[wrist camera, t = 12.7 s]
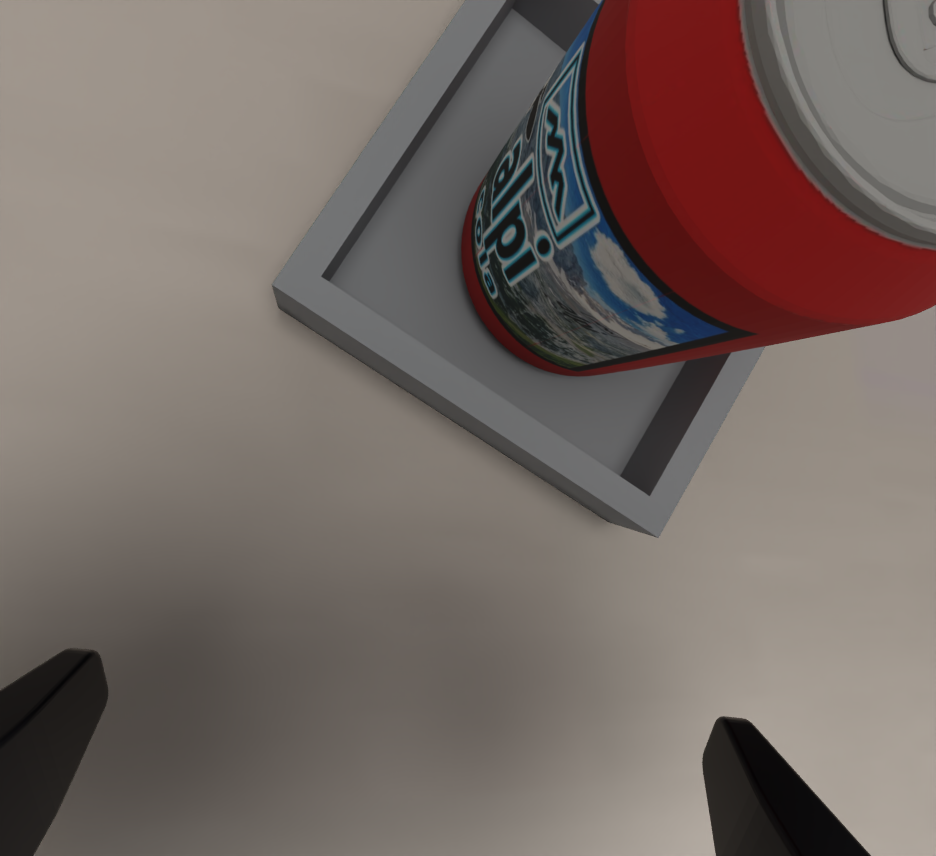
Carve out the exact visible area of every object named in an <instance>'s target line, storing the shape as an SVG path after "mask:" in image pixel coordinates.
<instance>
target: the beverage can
mask: <svg viewBox="0 0 936 856" xmlns="http://www.w3.org/2000/svg"><path fill="white" fill-rule="evenodd" d="M461 255H462V266H463V273H464V278H465V282H466V285H467V289H468V292H469V295H470V297H471V300H472V302H473V304H474V306H475V309H476V311H477V312H478V314H479V316H480V318H481V319H482V321H483V322H484V324H485V325H486V327H487V328H488V329H489V331H490V332H491V333H492V334H493V335H494V337H495V338H496V339H497V340H498V341H499V342H500V343H501V344H502V345H503V346H504V347H506V348H507V349H508V350H509V351H510V352H512V353H513V354H514V355H516V356H517V357H519V358H520V359H522V360H523V361H525V362H527V363H529V364H531V365H533V366H535V367H537V368H539V369H542V370H545V371H548V372H551V373H555V374H560V375H565V376H576V377H581V376H595V375H602V374H608V373H615V372H622V371H628V370H635V369H640V368H646V367H652V366H658V365H664V364H670V363H676V362H682V361H687V360H693V359H698V358H704V357H709V356H715V355H720V354H726V353H731V352H737V351H742V350H748V349H753V348H759V347H764V346H769V345H774V344H779V343H784V342H789V341H794V340H799V339H804V338H809V337H815V336H820V335H825V334H830V333H835V332H840V331H845V330H850V329H855V328H860V327H865V326H870V325H875V324H881V323H885V322H890V321H895V320H900V319H903V318H906V317H909V316H912V315H915V314H917V313H920V312H922V311H924V310H926V309H929V308H931V307H933V306H934V305H936V0H602V1H601V2H600V4H599V5H598V7H597V8H596V9H595V11H594V12H593V14H592V15H591V17H590V18H589V20H588V21H587V23H586V24H585V26H584V27H583V29H582V30H581V32H580V33H579V35H578V36H577V38H576V39H575V40H574V42H573V43H572V45H571V46H570V48H569V49H568V51H567V52H566V54H565V55H564V57H563V58H562V60H561V61H560V63H559V64H558V66H557V67H556V69H555V70H554V72H553V73H552V75H551V76H550V78H549V79H548V81H547V82H546V84H545V85H544V86H543V88H542V89H541V91H540V92H539V94H538V95H537V97H536V98H535V100H534V101H533V103H532V104H531V106H530V107H529V109H528V111H527V112H526V114H525V115H524V117H523V118H522V120H521V121H520V123H519V124H518V126H517V127H516V129H515V130H514V132H513V133H512V135H511V136H510V138H509V139H508V141H507V142H506V144H505V145H504V147H503V149H502V150H501V152H500V153H499V155H498V156H497V158H496V160H495V161H494V163H493V164H492V166H491V167H490V169H489V171H488V172H487V174H486V175H485V177H484V179H483V180H482V182H481V183H480V185H479V186H478V188H477V190H476V192H475V194H474V196H473V198H472V200H471V202H470V205H469V207H468V211H467V214H466V217H465V221H464V226H463V232H462V244H461Z"/></svg>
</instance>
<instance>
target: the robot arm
mask: <svg viewBox="0 0 936 856" xmlns="http://www.w3.org/2000/svg"><path fill="white" fill-rule="evenodd" d="M107 699H108V686H107V681H106V677H105V673H104V669H103V664H102V660H101V657H100V654H99V653H98V652H97V651H94V650H87V649H78V648H70V649H66V650H64V651H62V652H60V653H59V654H57V655H55V656H54V657H52V658H51V659H49V660H48V661H46V662H44V663H43V664H41V665H40V666H38V667H36V668H35V669H33V670H32V671H30V672H29V673H27V674H25V675H24V676H22V677H21V678H19V679H18V680H16V681H14V682H13V683H11V684H10V685H8V686H6V687H5V688H3V689H2V690H0V856H33V855H34V853H35V852H36V850H37V848H38V846H39V845H40V843H41V841H42V839H43V838H44V836H45V834H46V832H47V830H48V829H49V827H50V825H51V823H52V821H53V819H54V818H55V816H56V814H57V812H58V810H59V808H60V806H61V804H62V801H63V799H64V797H65V795H66V793H67V791H68V789H69V786H70V784H71V782H72V780H73V777H74V775H75V773H76V771H77V769H78V766H79V764H80V762H81V760H82V757H83V755H84V753H85V751H86V749H87V746H88V744H89V742H90V740H91V737H92V735H93V733H94V731H95V729H96V726H97V724H98V722H99V720H100V717H101V715H102V713H103V711H104V708H105V706H106V703H107ZM702 765H703V775H704V781H705V788H706V794H707V801H708V807H709V814H710V820H711V827H712V833H713V840H714V846H715V853H716V856H871V855H870V854H869V853H868V852H867V851H866V850H865V849H864V847H863V846H862V845H861V844H860V843H859V842H858V841H857V840H856V839H855V837H854V836H853V835H852V834H851V833H850V832H849V831H848V830H847V829H846V827H845V826H844V825H843V824H842V823H841V822H840V821H839V820H838V818H837V817H836V816H835V815H834V814H833V813H832V812H831V811H830V810H829V808H828V807H827V806H826V805H825V804H824V803H823V802H822V801H821V800H820V798H819V797H818V796H817V795H816V794H815V793H814V792H813V791H812V789H811V788H810V787H809V786H808V785H807V784H806V783H805V782H804V781H803V779H802V778H801V777H800V776H799V775H798V774H797V773H796V772H795V771H794V769H793V768H792V767H791V766H790V765H789V764H788V763H787V762H786V761H785V759H784V758H783V757H782V756H781V755H780V754H779V753H778V752H777V750H776V749H775V748H774V747H773V746H772V745H771V744H770V743H769V742H768V740H767V739H766V738H765V737H764V736H763V735H762V734H761V733H760V732H759V730H758V729H757V728H756V727H755V726H754V725H753V724H752V723H751V722H750V721H748V720H746V719H743V718H734V717H724V716H723V717H719V718H718V719H717V720H716V722H715V724H714V727H713V729H712V732H711V734H710V737H709V740H708V742H707V745H706V747H705V750H704V753H703V761H702Z"/></svg>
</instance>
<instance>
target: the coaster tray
mask: <svg viewBox="0 0 936 856" xmlns="http://www.w3.org/2000/svg"><path fill="white" fill-rule="evenodd" d="M601 1H602V0H465V2H464V3H463V5H462V6H461V8H460V9H459V11H458V12H457V14H456V15H455V16H454V18H453V19H452V21H451V22H450V24H449V25H448V27H447V28H446V30H445V31H444V33H443V34H442V36H441V37H440V38H439V40H438V41H437V43H436V44H435V46H434V47H433V49H432V50H431V52H430V53H429V55H428V56H427V58H426V59H425V60H424V62H423V63H422V65H421V66H420V68H419V69H418V71H417V72H416V74H415V75H414V77H413V78H412V80H411V81H410V82H409V84H408V85H407V87H406V88H405V90H404V91H403V93H402V94H401V96H400V97H399V99H398V100H397V102H396V103H395V105H394V106H393V107H392V109H391V110H390V112H389V113H388V115H387V116H386V118H385V119H384V121H383V122H382V124H381V125H380V127H379V128H378V129H377V131H376V132H375V134H374V135H373V137H372V138H371V140H370V141H369V143H368V144H367V146H366V147H365V149H364V150H363V151H362V153H361V154H360V156H359V157H358V159H357V160H356V162H355V163H354V165H353V166H352V168H351V169H350V171H349V172H348V173H347V175H346V176H345V178H344V179H343V181H342V182H341V184H340V185H339V187H338V188H337V190H336V191H335V193H334V194H333V195H332V197H331V198H330V200H329V201H328V203H327V204H326V206H325V207H324V209H323V210H322V212H321V213H320V215H319V216H318V218H317V219H316V220H315V222H314V223H313V225H312V226H311V228H310V229H309V231H308V232H307V234H306V235H305V237H304V238H303V240H302V241H301V242H300V244H299V245H298V247H297V248H296V250H295V251H294V253H293V254H292V256H291V257H290V259H289V260H288V262H287V263H286V264H285V266H284V267H283V269H282V270H281V272H280V273H279V275H278V276H277V278H276V279H275V281H274V282H273V284H272V287H273V290H274V294H275V297H276V300H277V304H278V307H279V309H281V310H283V311H284V312H286V313H287V314H289V315H290V316H292V317H293V318H295V319H296V320H298V321H299V322H301V323H303V324H304V325H306V326H307V327H309V328H310V329H312V330H313V331H315V332H316V333H318V334H320V335H321V336H323V337H324V338H326V339H327V340H329V341H330V342H332V343H333V344H335V345H336V346H338V347H340V348H341V349H343V350H344V351H346V352H347V353H349V354H350V355H352V356H353V357H355V358H357V359H358V360H360V361H361V362H363V363H364V364H366V365H367V366H369V367H370V368H372V369H373V370H375V371H377V372H378V373H380V374H381V375H383V376H384V377H386V378H387V379H389V380H390V381H392V382H394V383H395V384H397V385H398V386H400V387H401V388H403V389H404V390H406V391H407V392H409V393H410V394H412V395H414V396H415V397H417V398H418V399H420V400H421V401H423V402H424V403H426V404H427V405H429V406H431V407H432V408H434V409H435V410H437V411H438V412H440V413H441V414H443V415H444V416H446V417H447V418H449V419H451V420H452V421H454V422H455V423H457V424H458V425H460V426H461V427H463V428H464V429H466V430H467V431H469V432H471V433H472V434H474V435H475V436H477V437H478V438H480V439H481V440H483V441H484V442H486V443H488V444H489V445H491V446H492V447H494V448H495V449H497V450H498V451H500V452H501V453H503V454H504V455H506V456H508V457H509V458H511V459H512V460H514V461H515V462H517V463H518V464H520V465H521V466H523V467H525V468H526V469H528V470H529V471H531V472H532V473H534V474H535V475H537V476H538V477H540V478H541V479H543V480H545V481H546V482H548V483H549V484H551V485H552V486H554V487H555V488H557V489H558V490H560V491H562V492H563V493H565V494H566V495H568V496H569V497H571V498H572V499H574V500H575V501H577V502H578V503H580V504H582V505H583V506H585V507H586V508H588V509H589V510H591V511H592V512H594V513H595V514H597V515H599V516H600V517H602V518H603V519H605V520H606V521H608V522H610V523H613V524H616V525H620V526H623V527H626V528H629V529H632V530H635V531H638V532H642V533H645V534H648V535H651V536H654V537H657V538H659V536H660V534H661V532H662V531H663V529H664V527H665V525H666V523H667V522H668V520H669V518H670V516H671V514H672V513H673V511H674V509H675V507H676V505H677V504H678V502H679V500H680V498H681V497H682V495H683V493H684V491H685V489H686V488H687V486H688V484H689V482H690V480H691V479H692V477H693V475H694V473H695V472H696V470H697V468H698V466H699V464H700V463H701V461H702V459H703V457H704V455H705V454H706V452H707V450H708V448H709V446H710V445H711V443H712V441H713V439H714V438H715V436H716V434H717V432H718V430H719V429H720V427H721V425H722V423H723V421H724V420H725V418H726V416H727V414H728V412H729V411H730V409H731V407H732V405H733V404H734V402H735V400H736V398H737V396H738V395H739V393H740V391H741V389H742V387H743V386H744V384H745V382H746V380H747V378H748V377H749V375H750V373H751V371H752V370H753V368H754V366H755V364H756V362H757V361H758V359H759V357H760V355H761V353H762V352H763V350H764V348H765V346H764V347H759V348H753V349H748V350H742V351H737V352H731V353H726V354H720V355H715V356H709V357H704V358H698V359H693V360H687V361H682V362H676V363H670V364H664V365H658V366H652V367H646V368H640V369H635V370H628V371H622V372H615V373H608V374H602V375H595V376H581V377H576V376H565V375H560V374H555V373H551V372H548V371H545V370H542V369H539V368H537V367H535V366H533V365H531V364H529V363H527V362H525V361H523V360H522V359H520V358H519V357H517V356H516V355H514V354H513V353H512V352H510V351H509V350H508V349H507V348H506V347H504V346H503V345H502V344H501V343H500V342H499V341H498V340H497V339H496V338H495V337H494V335H493V334H492V333H491V332H490V331H489V329H488V328H487V327H486V325H485V324H484V322H483V321H482V319H481V318H480V316H479V314H478V312H477V311H476V309H475V306H474V304H473V302H472V300H471V297H470V295H469V292H468V289H467V285H466V282H465V278H464V273H463V266H462V255H461V244H462V232H463V226H464V221H465V217H466V214H467V211H468V207H469V205H470V202H471V200H472V198H473V196H474V194H475V192H476V190H477V188H478V186H479V185H480V183H481V182H482V180H483V179H484V177H485V175H486V174H487V172H488V171H489V169H490V167H491V166H492V164H493V163H494V161H495V160H496V158H497V156H498V155H499V153H500V152H501V150H502V149H503V147H504V145H505V144H506V142H507V141H508V139H509V138H510V136H511V135H512V133H513V132H514V130H515V129H516V127H517V126H518V124H519V123H520V121H521V120H522V118H523V117H524V115H525V114H526V112H527V111H528V109H529V107H530V106H531V104H532V103H533V101H534V100H535V98H536V97H537V95H538V94H539V92H540V91H541V89H542V88H543V86H544V85H545V84H546V82H547V81H548V79H549V78H550V76H551V75H552V73H553V72H554V70H555V69H556V67H557V66H558V64H559V63H560V61H561V60H562V58H563V57H564V55H565V54H566V52H567V51H568V49H569V48H570V46H571V45H572V43H573V42H574V40H575V39H576V38H577V36H578V35H579V33H580V32H581V30H582V29H583V27H584V26H585V24H586V23H587V21H588V20H589V18H590V17H591V15H592V14H593V12H594V11H595V9H596V8H597V7H598V5H599V4H600V2H601Z"/></svg>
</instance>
